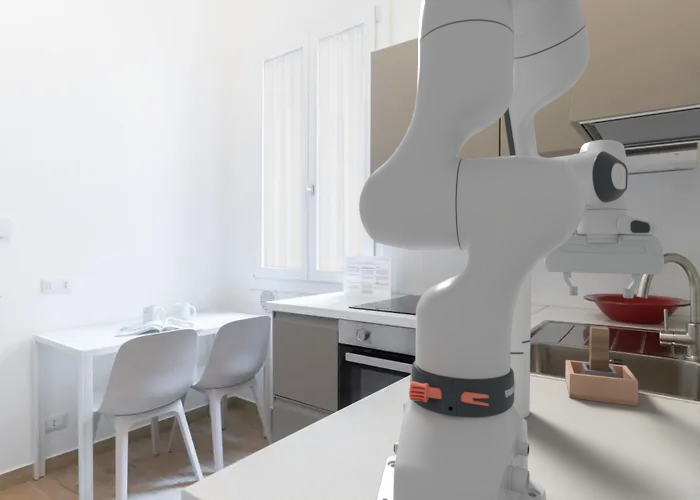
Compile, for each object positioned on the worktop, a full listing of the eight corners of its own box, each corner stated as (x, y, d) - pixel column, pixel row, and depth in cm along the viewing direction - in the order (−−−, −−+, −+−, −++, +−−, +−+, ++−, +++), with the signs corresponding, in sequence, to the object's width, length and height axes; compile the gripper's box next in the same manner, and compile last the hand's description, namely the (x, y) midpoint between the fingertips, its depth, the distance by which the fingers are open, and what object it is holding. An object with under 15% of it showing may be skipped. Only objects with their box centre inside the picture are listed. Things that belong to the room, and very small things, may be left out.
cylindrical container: (538, 413, 75) (540, 267, 75) (511, 421, 71) (512, 268, 71) (504, 400, 81) (505, 265, 81) (477, 407, 77) (478, 266, 77)
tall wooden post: (608, 391, 84) (609, 329, 84) (590, 389, 85) (591, 328, 85) (606, 387, 87) (606, 326, 86) (588, 385, 88) (589, 325, 88)
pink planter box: (637, 406, 79) (638, 379, 78) (569, 397, 83) (569, 372, 83) (625, 387, 89) (626, 364, 89) (565, 381, 93) (565, 358, 93)
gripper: (543, 225, 87) (542, 295, 87) (667, 224, 79) (666, 301, 79) (542, 227, 92) (541, 292, 92) (658, 226, 84) (657, 297, 85)
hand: (600, 296), depth 85 cm, fingers open, 8 cm apart
